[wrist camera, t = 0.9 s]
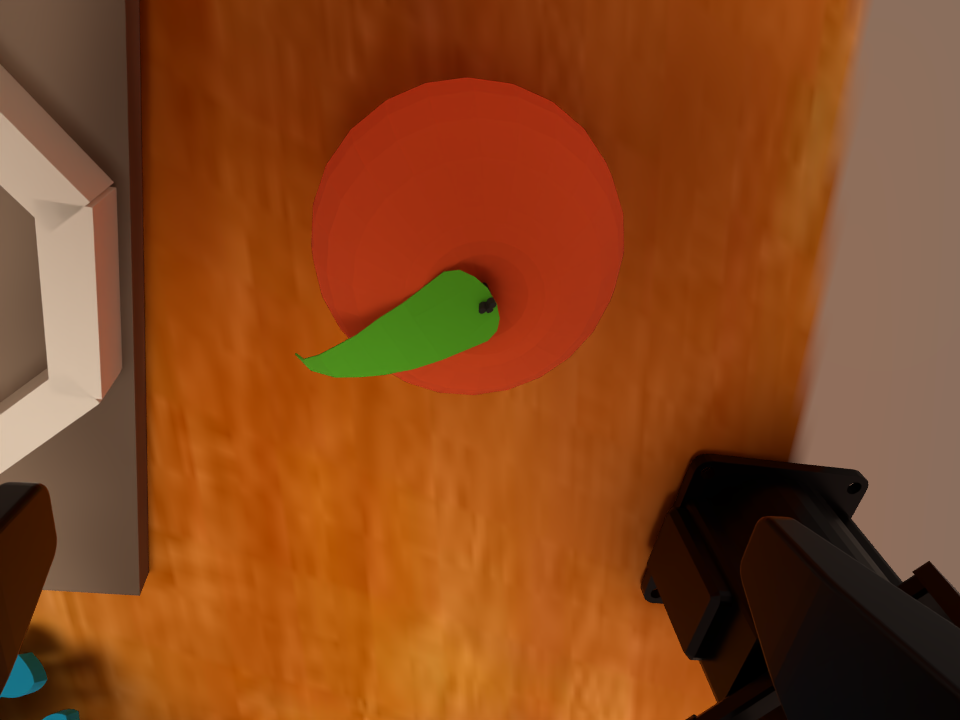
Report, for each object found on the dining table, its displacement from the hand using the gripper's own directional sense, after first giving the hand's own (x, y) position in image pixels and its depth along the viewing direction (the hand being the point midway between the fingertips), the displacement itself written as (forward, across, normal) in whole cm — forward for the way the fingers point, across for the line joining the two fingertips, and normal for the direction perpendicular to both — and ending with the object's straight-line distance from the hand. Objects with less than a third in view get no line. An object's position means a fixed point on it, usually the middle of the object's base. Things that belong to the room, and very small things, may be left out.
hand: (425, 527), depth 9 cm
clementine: (+12, -1, -1) cm, 12 cm away
